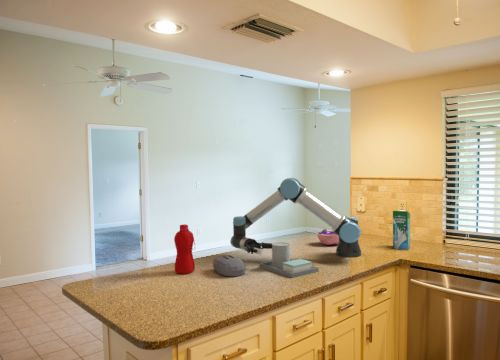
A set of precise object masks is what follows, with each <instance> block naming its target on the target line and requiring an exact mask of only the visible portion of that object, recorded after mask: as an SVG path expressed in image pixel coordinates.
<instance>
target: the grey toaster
mask: <svg viewBox="0 0 500 360" xmlns="http://www.w3.org/2000/svg"><path fill="white" fill-rule="evenodd" d="M212 267H213V269H214V271H215V272H216V273H217V274H219V275H221V276H223V277H224V276H225V277H238V276H239V277H240V276H242V275H243V274H245V272H246V269H247V268H246V264H245V263H244V262H243V260H242V259H241V258H239V257H236V256H232V255H230V254H228V255H226V256H225V255H222V256H218V257H216V258H214V259H213V262H212Z"/></svg>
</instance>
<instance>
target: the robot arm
mask: <svg viewBox="0 0 500 360" xmlns="http://www.w3.org/2000/svg"><path fill="white" fill-rule="evenodd" d="M276 189H277V190H276V191H274V193H272V194H271V195H270V196H268V197H267V198H266V199H264V200H263V201H261V202H260V203H259V204H257V205H256V206H255V207H254V208H252V209H251V210H250V211H248V212H247V213H246V214H245V215H243V216H234V217H233V219H232V220H233V221H232V224H233V225H232V226H233V229H232V230H233V235H232V236H231V237H230V239H229V240H230V241H229V242H230V245H231V247H234V248H236V249H239V250H240V249H241V250H244V251H245V252H247V253H248V254H249V253H250V254H251V255H253V254H257V255H260V256H261V255H263V249H266V250H269V249H270V250H272V244H273V243H271V242H270V243H269V242H263V241H261V242H258V241H257V240H256V239H253V238H250V237H247V235H246V230H247V229H249V227H250V226H252V225H253V224H254V223H256V222H258V220H260V219H261V218H263V217H264V216H265V215H267V214H268V213H270V212H271V211H272V210H273V209H275V208H276V207H277V206H279V205H280V204H282V203H283V202H284V201H288V200H289V201H291V202H292V203H293V204H299V205H300V206H301V207H303V208H304V209H306V210H307V211H308V212H310V213H311V214H313V215H314V216H315V217H317V218H318V219H320V220H321V221H322V222H324V223H325V224H326V225H328V226H329V227H330V228H332V230H331V231H333V232H334V233H335V234H337V235H338V236H339V242H338V244H336V245H337V246H336V249H335V254H336V255H337V256H339V257H346V258H355V257H360V256H362V249H361V246H360V244H359V243H360V242H359V238H360V237H361V228H360V226H359V221H358V220H359V218H358V217H356V216H355V217H353V216H352V217H350V216H349V217H348V216H346V215H341V214H339V213H337V212H336V211H334V209H332V208H331V207H329V206H328V205H327V204H325V203H323V202H322V201H321V200H319V199H318V198H317V197H316V196H314V195H313V194H311V193H310V192H308V188H307V187H306V186H305V185H303V184H302V183H300V180H299V179H297V178H294V177H288V178H285V179H284V180H282V181H281V183H280V185H279V187H277V188H276Z"/></svg>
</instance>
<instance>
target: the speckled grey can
mask: <svg viewBox="0 0 500 360" xmlns="http://www.w3.org/2000/svg"><path fill="white" fill-rule="evenodd" d="M290 246H291V244H290V243H288V242H283V241H282V242H273V243H272V249H271V255H272V257H271V258H272V259H271V261H272V267H275V268H278V269H283V265H282V263H283V262H288V261H290V260H291V253H290V252H291V250H290V248H291V247H290Z"/></svg>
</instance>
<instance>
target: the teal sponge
mask: <svg viewBox="0 0 500 360" xmlns="http://www.w3.org/2000/svg"><path fill="white" fill-rule="evenodd" d="M312 264H313V261H310V260H306V259H301V258H297V259H294V260H293V261H288V262H283V263H282V265H283V270H284V271H287V272H291V273H294V272H299V271H303V270H307V269H312V268H311V266H312Z"/></svg>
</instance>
